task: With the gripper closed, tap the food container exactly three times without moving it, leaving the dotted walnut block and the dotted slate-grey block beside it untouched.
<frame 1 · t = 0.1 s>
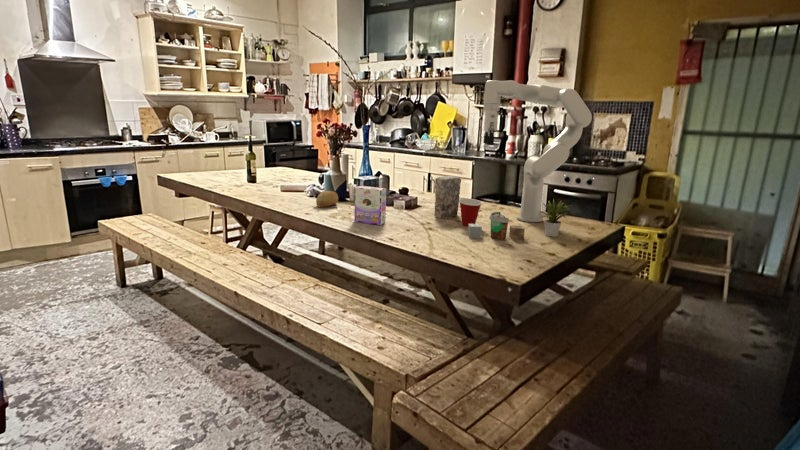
hand: (488, 144, 222), 37 cm above the table, tool pointing down, fingers open, 9 cm apart
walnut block: (516, 238, 196), on the table
food container: (495, 237, 196), on the table
bread roll: (327, 206, 245), on the table
candy box: (369, 222, 213), on the table
plastic cup: (468, 226, 213), on the table
slate-grey block: (474, 236, 196), on the table
stone block: (446, 216, 231), on the table
house plant: (551, 236, 202), on the table
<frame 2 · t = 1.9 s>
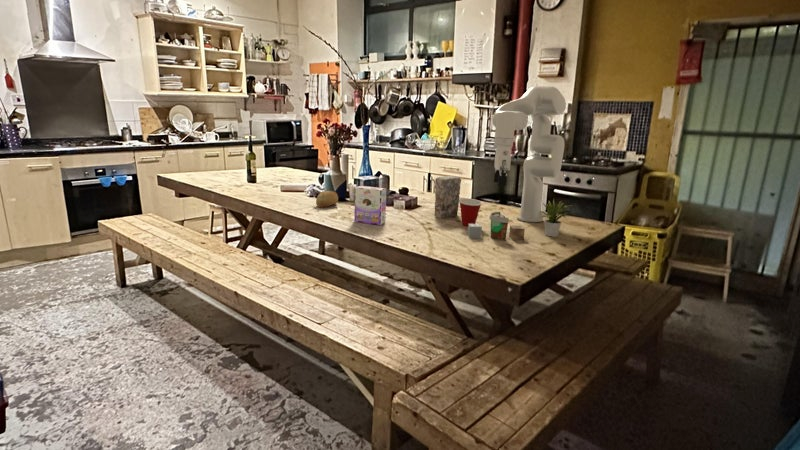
hand: (499, 184, 191), 23 cm above the table, tool pointing down, fingers open, 9 cm apart
nothing on the table moved.
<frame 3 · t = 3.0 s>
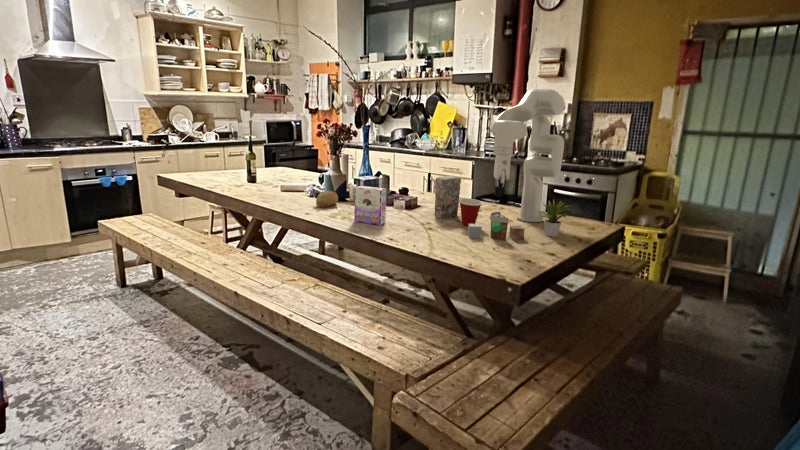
hand: (498, 196, 191), 18 cm above the table, tool pointing down, fingers closed
nothing on the table moved.
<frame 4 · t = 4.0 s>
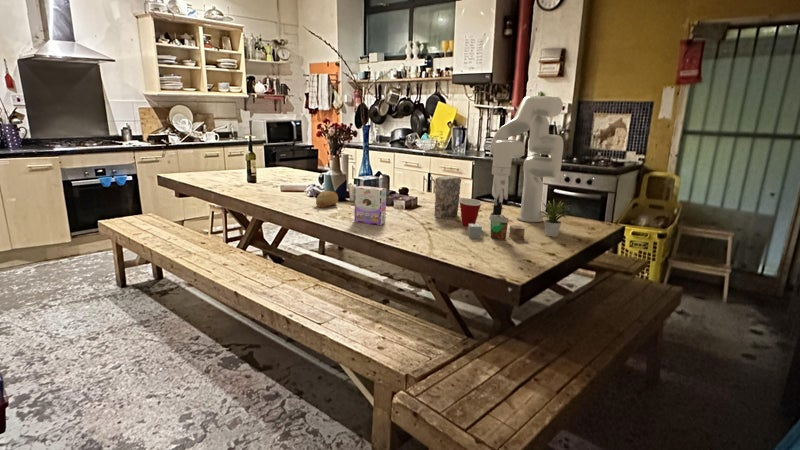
hand: (497, 214, 193), 10 cm above the table, tool pointing down, fingers closed
food container: (495, 237, 196), on the table, touching gripper
everything else where it was.
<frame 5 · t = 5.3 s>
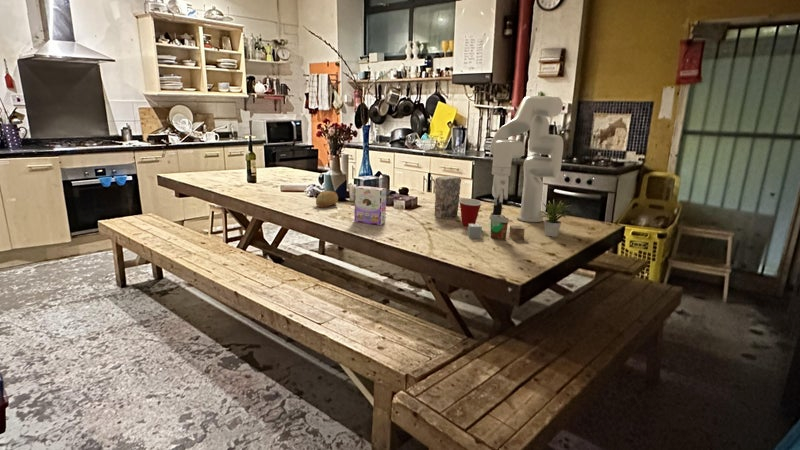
hand: (497, 214, 193), 10 cm above the table, tool pointing down, fingers closed
nothing on the table moved.
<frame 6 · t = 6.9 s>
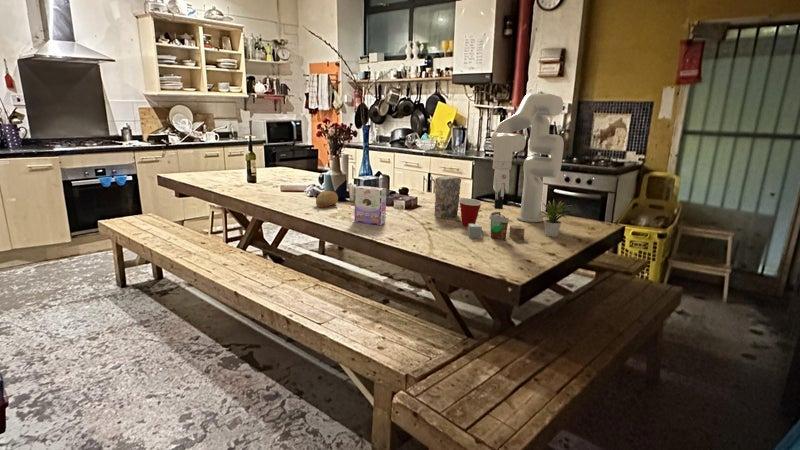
hand: (498, 208, 193), 12 cm above the table, tool pointing down, fingers closed
food container: (495, 237, 196), on the table
everything else where it was.
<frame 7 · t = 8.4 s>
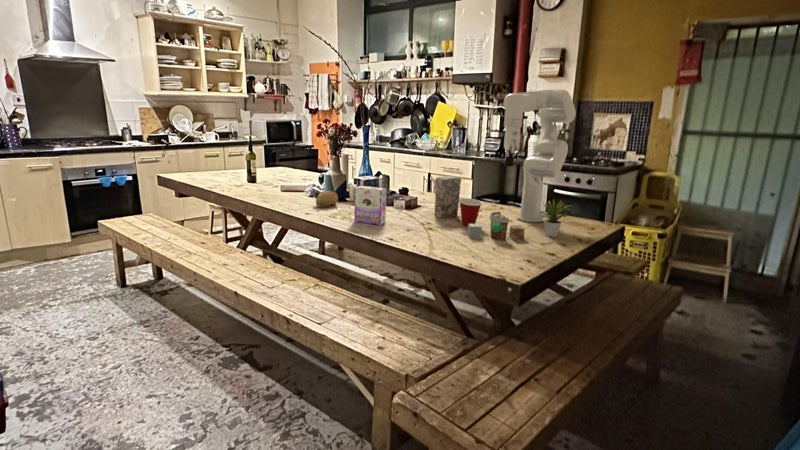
hand: (508, 165, 202), 29 cm above the table, tool pointing down, fingers closed
nothing on the table moved.
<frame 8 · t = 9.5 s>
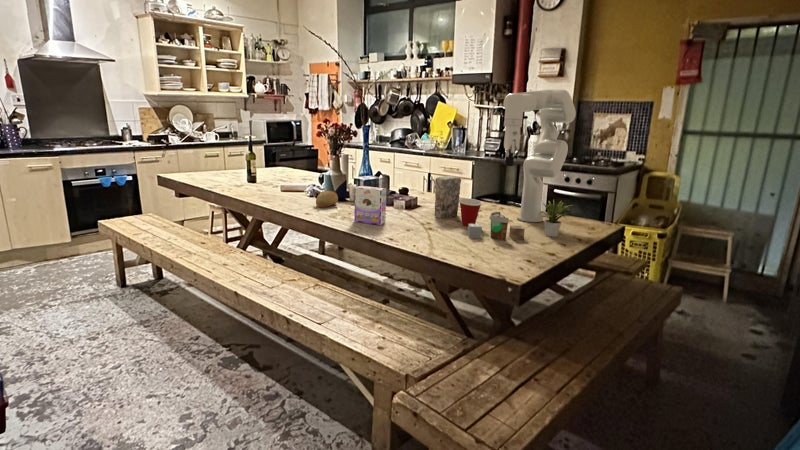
hand: (508, 165, 202), 29 cm above the table, tool pointing down, fingers closed
nothing on the table moved.
at the end: food container moved 0.2 cm from its start; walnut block moved 0.1 cm from its start; slate-grey block moved 0.1 cm from its start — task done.
